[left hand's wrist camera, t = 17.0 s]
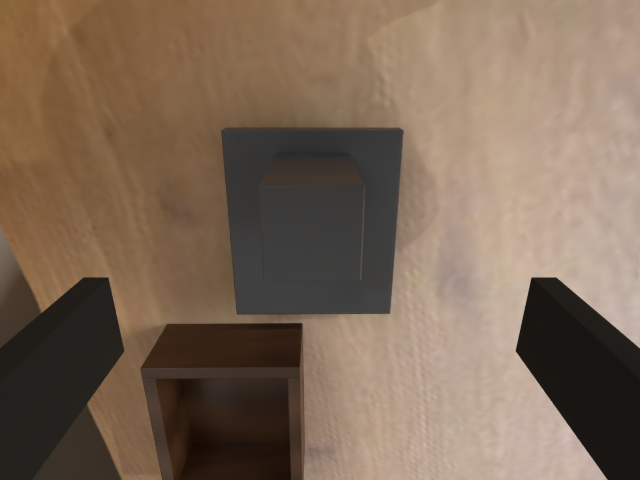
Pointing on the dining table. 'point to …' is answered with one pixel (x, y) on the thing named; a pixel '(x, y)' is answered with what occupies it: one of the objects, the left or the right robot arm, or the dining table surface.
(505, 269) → the dining table surface
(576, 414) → the left robot arm
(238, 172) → the lid
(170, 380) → the box
